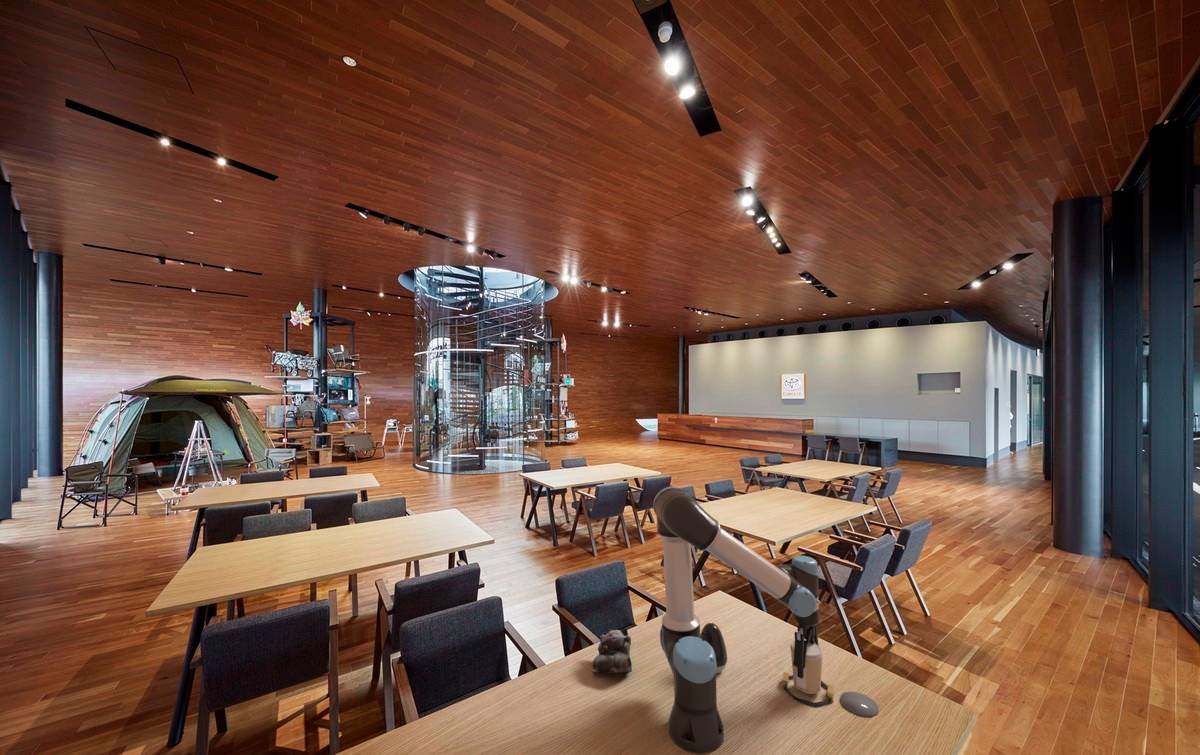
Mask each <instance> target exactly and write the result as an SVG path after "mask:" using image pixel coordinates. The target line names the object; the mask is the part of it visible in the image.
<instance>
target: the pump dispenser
mask: <svg viewBox="0 0 1200 755" xmlns="http://www.w3.org/2000/svg"><path fill="white" fill-rule="evenodd" d="M700 637H701V639H702V641H706V642H708V643H709V644H710V645H711V647H712V648H713V650H714V652H715V658H716V664H717V667H716V674H719V673H721V672H722V671H723V670H724V669H725V667H726V666H727V663H728V652H727V648H726V646H727V645H726V643H725V639H724V636H723V633H722V631H721V630H720V628H719V626H718V625H717V624H715V623H714V622H707V623H706V624H705V625H704V626H703V627H702V628H701V630H700Z"/></svg>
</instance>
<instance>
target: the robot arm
mask: <svg viewBox="0 0 1200 755" xmlns="http://www.w3.org/2000/svg"><path fill="white" fill-rule="evenodd" d="M652 506H653V512H654V513H655V516H656V530H657V534H658V536H660V538H661V539H662V551H663V554H662V555H663V570H664V590H665V592H664V593H665V609H666V611H665V612H666V613H665V614H664V615H663V616H662V618H661V628H660V631H659V641H660V642H659V643H660V646H661V648H662V651H663V652H664V655H665V657H666V659H667V662H668V665H669V667H670V669H671V673H672V676H673V683H674V684H673V690H674V691H673V695H674V698H673V699H674V700H673V704H672V708H671V711H670V714H669V717H668V734H669V736H670V738H671V739H672V741H673V742H674V743H675V744H676V745H677V746H678V747H679V748H681V749H683V750H685V751H687V752H691V753H694V754H695V753H696V754H707V753H711V752H715V751H716V750H717V749H719V748H720V747H721V746H722V744H723V742H724V738H725V734H724V730H725V729H724V723H723V721H722V718H721V715H720V711H719V709H718V704H717V696H718V695H717V673H716V667H717V664H716V658H715V652H714V650H713V648H712V647H711V645H710V644H709V643H708V642H706V641H702V639H701V637H700V634H701V623H700V621H701V620H700V619H699V617H698V616H697V615H696V614H695V606H694V605H695V604H694V603H695V602H694V599H695V598H694V582H693V565H692V564H693V562H692V546H693V547H694V548H696V549H698V550H699V551H700V552H703V551H707V552H708V553H710V554H711V555H712V556H714V557H715V558H717V559H718V560H720V561H721V562H723V563H724V564H726V565H727V566H728V567H729V568H731V569H732V570H734V571H735V572H737V573H738V574H740V575H741V576H743V577H744V578H745V579H747V580H749V581H750V582H751V583H752V584H754V585H755V586H756V587H757V589H758V590H759V591H760V592H764V593H765V592H766V594H769V595H770V596H772V597H773V598H774V599H775V600H777V601H778V602H780V603H781V604H783V605H784V606H785V607H787V608H788V609H789V611H791V613H792V617H793V619H794V620H795V621H796V622H797V623H798V625H797V630H796V631H794V641H795V646H794V662H793V665H794V666H796V672H797V686H799V687H801V688H804V689H806V688H807V681H806V666H805V662H806V653H807V645H808V644H809V643H811V644H814V643H815V644H817V645H818V646H819V636H818V626H817V625H818V623H819V622H820V611H819V609H820V607H819V605H820V604H821V601H820V600H819V576H820V575H819V566H818V565H819V564H818V561H817V560H816V559H814V558H813V557H811V556H806V555H796V556H793V557H792V559H791V563H790V564H789V563H788V564H773V563H771V562H770V561H768V560H767V559H766V558H764V557H763V556H761V555H760V554H759V553H757V552H756V551H754V550H753V549H752V548H751V547H749V546H748V545H746V544H744V543H743V542H741V541H740V540H739V539H737V538H736V537H734V536H733V535H732V534H731V533H729V532H727V531H726V530H725V529H724V528H722V527H721V525H720V522H719V521H718V520H717V519H715V518H714V517H712V516H711V515H710V514H709V513H708V512H707V511H706V510H705V509H704V508H703V507H702V506H700V504H699V503H698V502H697V501H696V499H695V498H693V497H692V496H690V495H689V494H688V492H687V491H685V490H684V489H682V488H679V487H677V486H666V487H665V488H662V489H660V490H659V491H658V492H657V493H656V495H655V497H654V499H653V505H652ZM805 640H806V641H805ZM819 647H820V646H819Z"/></svg>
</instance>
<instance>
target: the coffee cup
mask: <svg viewBox="0 0 1200 755" xmlns="http://www.w3.org/2000/svg"><path fill="white" fill-rule="evenodd" d="M804 640H805V641H806V639H804ZM815 643H816V642H815ZM815 643H814V644H811V643H809V644H808V645H807V653H806V662H805V666H806V681H807V688H806V689H804V688H801V687H799V686H797V672H796V666H794V665H793V662H794V646H795V640H793V641H792V643H791V644H790V654H791V655H790V656H791V666H792V675H793V679H792V680H793V685H794V687H795V688H796V689H798V690H799V691H801V692H803V693H806V694H809V695H810V694H811V695H814V694H817V693H820V691H821V687H822V685H821V681H822V673H823V672H822V670H823V669H822V668H823V656H824V653H823V650H822V648H821V646H818V645H819V644H818V645H817V644H815Z"/></svg>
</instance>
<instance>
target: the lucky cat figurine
mask: <svg viewBox="0 0 1200 755" xmlns="http://www.w3.org/2000/svg"><path fill="white" fill-rule="evenodd" d="M599 642H600V643H599V644H598V647H597V651H598V654H597V655H596V656H595V657H594V659H593V660H592V663H591V666H592V668H593V670H592V671H591V673H594V674H595V673H606V674H610V673H631V672H633V668H632V667H633V666H632V665H633V664H632V661H631V656H630V655H631V654H630V651H631V645H632V637H631V636H630V635H629V633H628V628H624V629H622V630H619V629H615V630H614V629H611V628H609V629H608V630H607V632H606V633H605V634H601V635H600V636H599Z"/></svg>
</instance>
